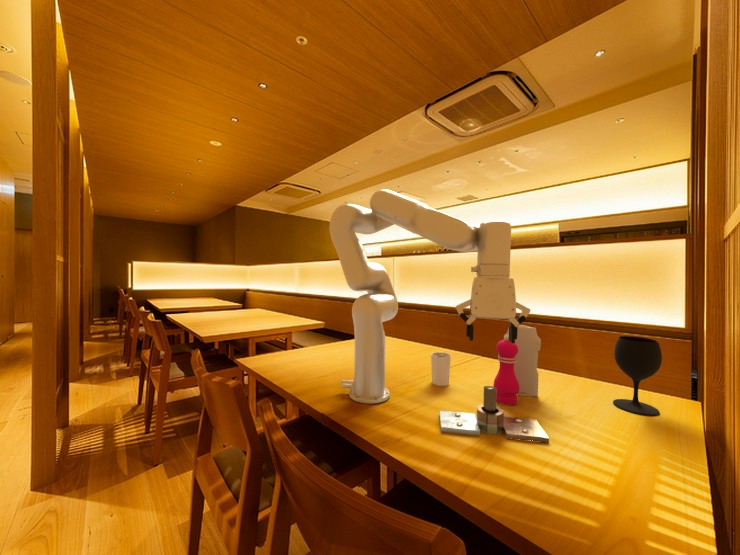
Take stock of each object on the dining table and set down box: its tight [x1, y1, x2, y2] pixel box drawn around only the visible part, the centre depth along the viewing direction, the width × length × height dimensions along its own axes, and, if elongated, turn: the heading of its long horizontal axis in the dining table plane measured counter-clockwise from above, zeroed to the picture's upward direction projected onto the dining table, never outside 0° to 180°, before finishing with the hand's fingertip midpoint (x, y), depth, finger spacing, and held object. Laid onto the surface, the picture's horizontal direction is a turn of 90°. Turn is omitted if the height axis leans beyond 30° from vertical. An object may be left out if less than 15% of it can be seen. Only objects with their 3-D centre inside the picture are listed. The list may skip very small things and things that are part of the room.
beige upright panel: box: [503, 324, 542, 398], centre depth 99 cm, size 11×4×22 cm, turn 62°
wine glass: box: [612, 335, 663, 417], centre depth 90 cm, size 10×10×20 cm
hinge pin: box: [482, 385, 497, 413], centre depth 78 cm, size 3×3×10 cm
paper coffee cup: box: [430, 351, 452, 387], centre depth 108 cm, size 7×7×10 cm
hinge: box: [439, 403, 550, 444], centre depth 78 cm, size 24×9×5 cm, turn 79°
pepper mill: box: [493, 334, 520, 406], centre depth 94 cm, size 7×7×20 cm
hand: (490, 340), depth 77 cm, fingers open, 9 cm apart
